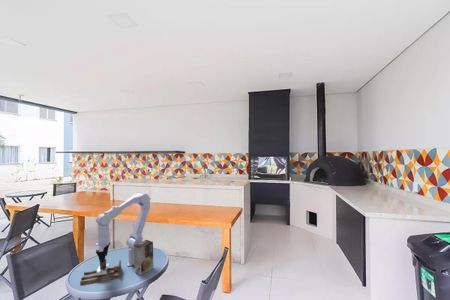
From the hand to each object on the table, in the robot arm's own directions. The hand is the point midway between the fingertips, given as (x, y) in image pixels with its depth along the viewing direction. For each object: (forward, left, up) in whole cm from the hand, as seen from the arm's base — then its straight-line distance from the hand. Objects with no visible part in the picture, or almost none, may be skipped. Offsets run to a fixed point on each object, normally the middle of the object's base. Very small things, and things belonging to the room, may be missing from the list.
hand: (103, 258), depth 123 cm
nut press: (+1, +1, -9) cm, 9 cm away
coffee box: (-22, +3, -10) cm, 24 cm away
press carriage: (0, +1, -7) cm, 7 cm away
